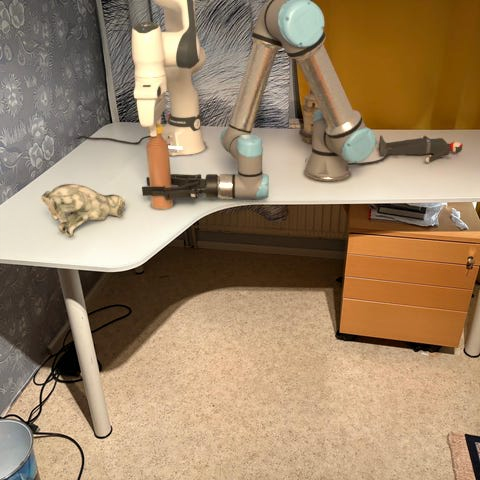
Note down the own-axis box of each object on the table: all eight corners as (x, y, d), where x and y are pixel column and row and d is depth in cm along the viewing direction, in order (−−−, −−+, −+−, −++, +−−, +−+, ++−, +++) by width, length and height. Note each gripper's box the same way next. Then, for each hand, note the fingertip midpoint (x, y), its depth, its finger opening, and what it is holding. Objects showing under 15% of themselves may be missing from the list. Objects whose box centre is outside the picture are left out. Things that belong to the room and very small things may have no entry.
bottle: (167, 198, 173) (160, 123, 161) (176, 205, 168) (170, 129, 156) (148, 203, 170) (140, 127, 158) (157, 211, 165) (150, 133, 153)
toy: (379, 128, 216) (458, 128, 210) (378, 143, 219) (456, 144, 213) (380, 150, 194) (469, 151, 187) (379, 166, 197) (466, 168, 190)
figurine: (85, 253, 150) (138, 211, 159) (47, 199, 141) (105, 158, 150) (72, 248, 157) (123, 208, 166) (34, 197, 148) (90, 157, 157)
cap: (148, 130, 159) (147, 124, 158) (161, 129, 160) (161, 123, 159) (150, 134, 155) (149, 128, 154) (164, 133, 156) (163, 127, 155)
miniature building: (320, 132, 228) (325, 59, 214) (338, 142, 217) (344, 66, 203) (293, 137, 224) (296, 63, 209) (310, 147, 213) (314, 69, 198)
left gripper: (148, 76, 160) (152, 122, 167) (131, 94, 142) (137, 144, 149) (169, 76, 160) (172, 122, 166) (155, 94, 142) (159, 144, 149)
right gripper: (216, 211, 159) (139, 211, 160) (221, 184, 176) (151, 184, 177) (216, 188, 155) (137, 188, 156) (220, 163, 172) (149, 163, 173)
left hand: (155, 132), depth 158 cm, fingers closed on cap, 4 cm apart
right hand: (144, 186), depth 166 cm, fingers closed on bottle, 7 cm apart
